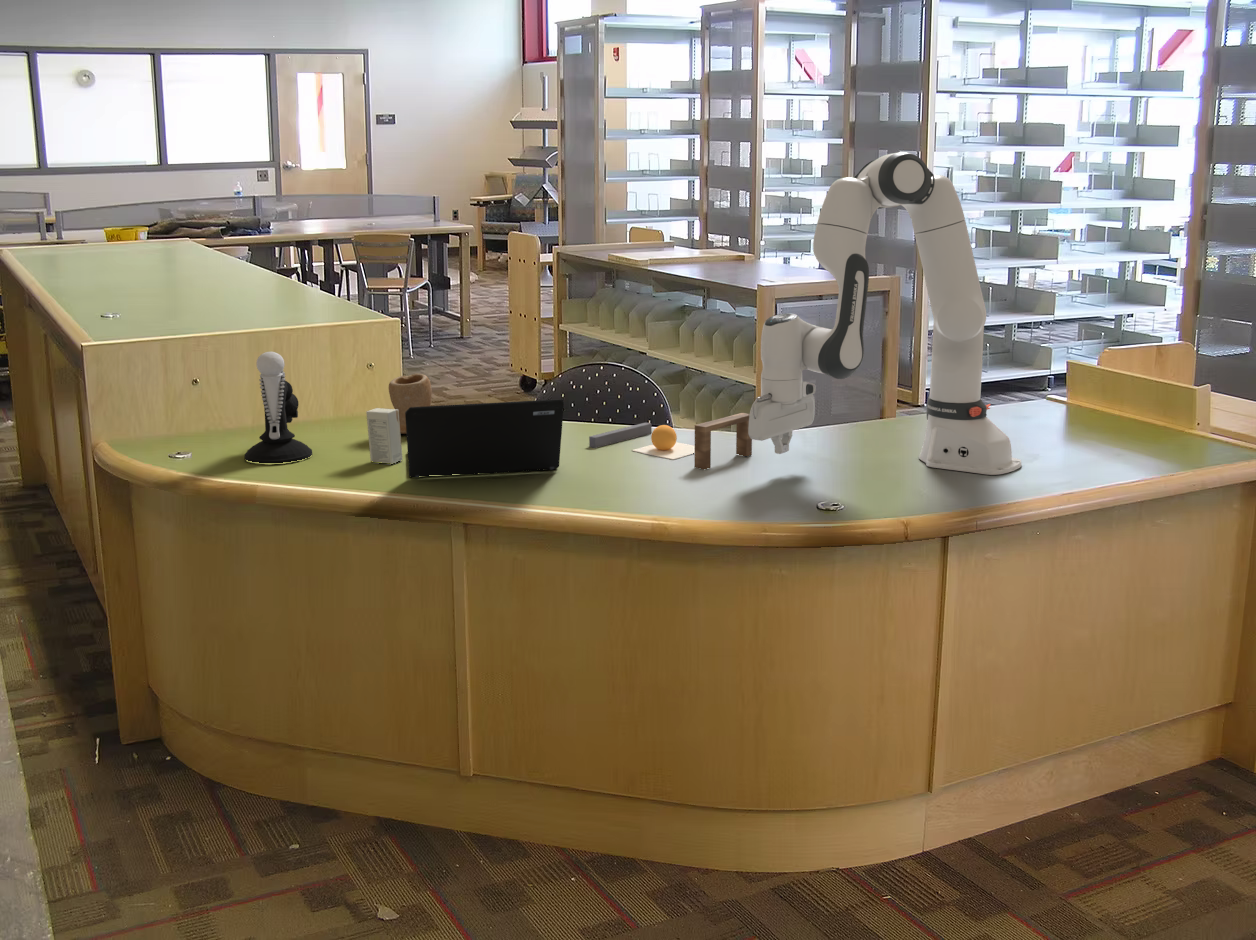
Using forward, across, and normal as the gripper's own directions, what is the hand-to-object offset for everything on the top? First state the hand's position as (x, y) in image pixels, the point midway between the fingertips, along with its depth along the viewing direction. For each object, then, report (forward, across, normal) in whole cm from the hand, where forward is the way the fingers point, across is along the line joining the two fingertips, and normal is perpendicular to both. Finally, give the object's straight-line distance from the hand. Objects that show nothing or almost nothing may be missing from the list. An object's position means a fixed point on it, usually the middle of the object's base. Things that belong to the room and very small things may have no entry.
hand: (781, 452), depth 275 cm
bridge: (+4, 0, +16) cm, 17 cm away
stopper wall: (+4, +1, +48) cm, 48 cm away
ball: (+1, 0, +33) cm, 33 cm away
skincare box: (+3, -49, +75) cm, 90 cm away
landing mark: (+4, +1, +32) cm, 32 cm away
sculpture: (+2, -60, +102) cm, 118 cm away
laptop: (+4, -39, +54) cm, 67 cm away
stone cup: (+3, -26, +92) cm, 95 cm away
